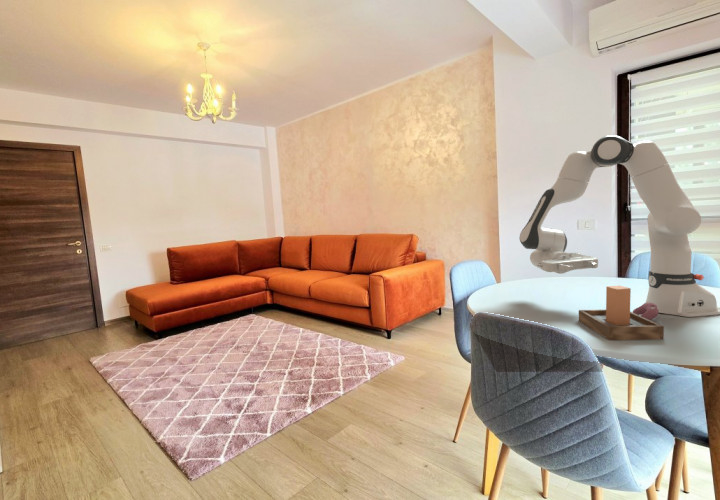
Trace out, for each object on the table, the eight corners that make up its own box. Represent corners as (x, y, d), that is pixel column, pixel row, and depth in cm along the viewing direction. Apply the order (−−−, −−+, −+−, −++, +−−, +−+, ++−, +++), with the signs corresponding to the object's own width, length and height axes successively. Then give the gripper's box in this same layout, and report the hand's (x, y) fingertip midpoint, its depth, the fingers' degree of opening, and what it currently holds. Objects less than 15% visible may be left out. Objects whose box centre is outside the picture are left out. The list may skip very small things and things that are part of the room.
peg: (618, 326, 114) (619, 285, 112) (629, 331, 110) (630, 288, 108) (605, 327, 114) (606, 286, 112) (616, 332, 109) (617, 289, 108)
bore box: (624, 320, 120) (624, 309, 119) (663, 339, 102) (663, 326, 101) (578, 321, 121) (578, 310, 121) (608, 340, 104) (609, 327, 103)
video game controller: (651, 328, 115) (664, 310, 113) (636, 321, 117) (648, 303, 115) (644, 319, 124) (656, 303, 121) (630, 312, 125) (642, 296, 123)
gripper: (534, 257, 139) (555, 261, 126) (582, 252, 140) (608, 256, 127) (534, 272, 140) (556, 278, 126) (582, 267, 141) (609, 272, 127)
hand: (582, 267), depth 126 cm, fingers open, 8 cm apart
